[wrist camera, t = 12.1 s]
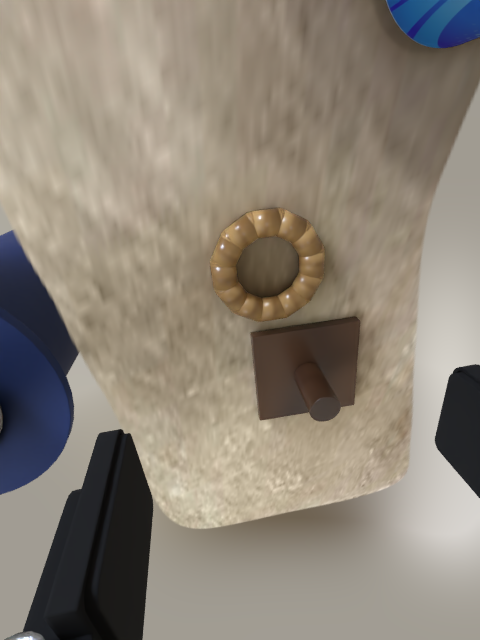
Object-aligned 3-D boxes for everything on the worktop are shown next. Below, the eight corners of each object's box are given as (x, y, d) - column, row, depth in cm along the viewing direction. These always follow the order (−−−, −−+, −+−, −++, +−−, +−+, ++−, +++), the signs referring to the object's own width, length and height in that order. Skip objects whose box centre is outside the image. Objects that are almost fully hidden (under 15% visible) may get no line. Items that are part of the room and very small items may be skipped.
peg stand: (258, 414, 32) (270, 461, 27) (250, 332, 27) (262, 370, 23) (350, 399, 32) (377, 442, 28) (356, 316, 28) (389, 350, 23)
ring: (218, 321, 27) (220, 332, 25) (203, 215, 23) (203, 220, 21) (319, 306, 27) (326, 316, 26) (320, 200, 23) (329, 204, 22)
